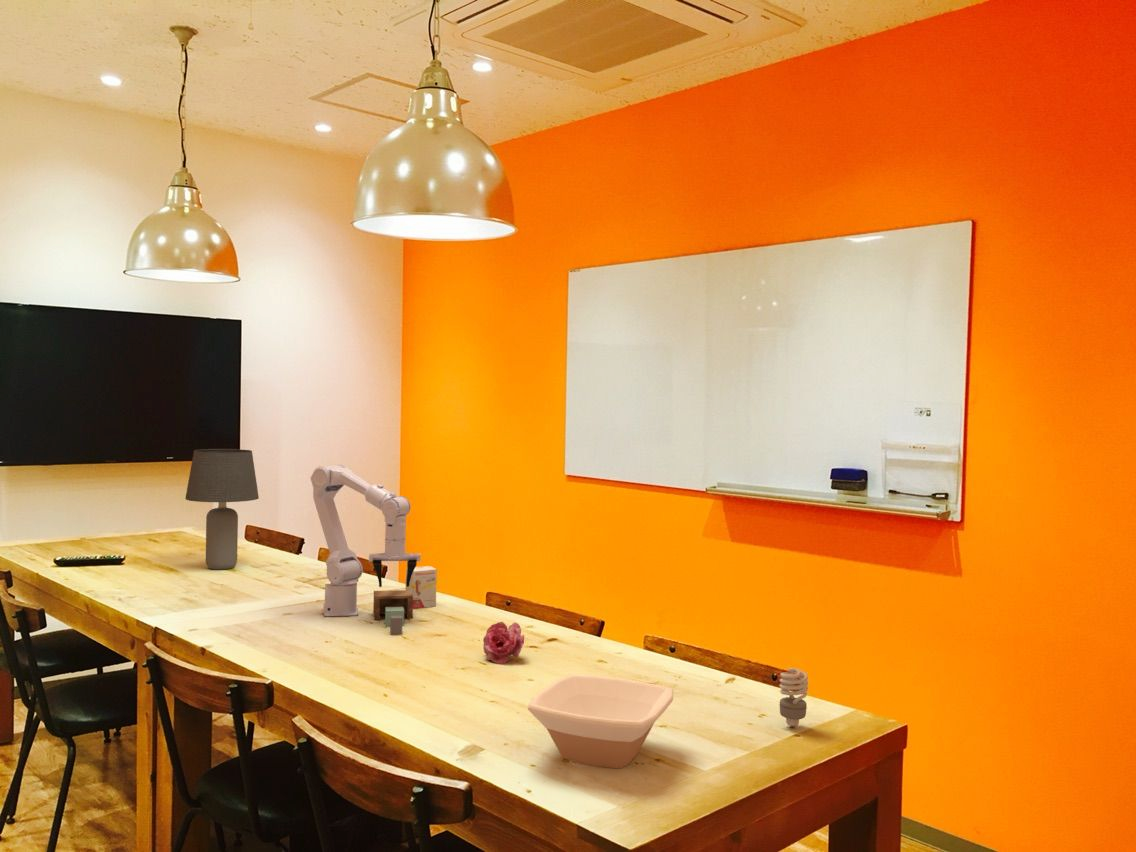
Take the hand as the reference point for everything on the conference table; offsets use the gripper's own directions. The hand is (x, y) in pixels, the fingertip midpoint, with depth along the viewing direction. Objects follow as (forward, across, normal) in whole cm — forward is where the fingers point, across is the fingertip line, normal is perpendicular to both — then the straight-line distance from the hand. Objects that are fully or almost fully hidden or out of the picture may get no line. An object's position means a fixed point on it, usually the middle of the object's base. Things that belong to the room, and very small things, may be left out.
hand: (394, 586), depth 267 cm
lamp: (+11, -59, +87) cm, 106 cm away
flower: (+10, +26, -42) cm, 50 cm away
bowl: (+10, +35, -105) cm, 111 cm away
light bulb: (+9, +77, -98) cm, 124 cm away
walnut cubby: (+10, 0, +6) cm, 12 cm away
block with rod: (+10, 0, -8) cm, 13 cm away
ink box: (+10, +9, +18) cm, 23 cm away
